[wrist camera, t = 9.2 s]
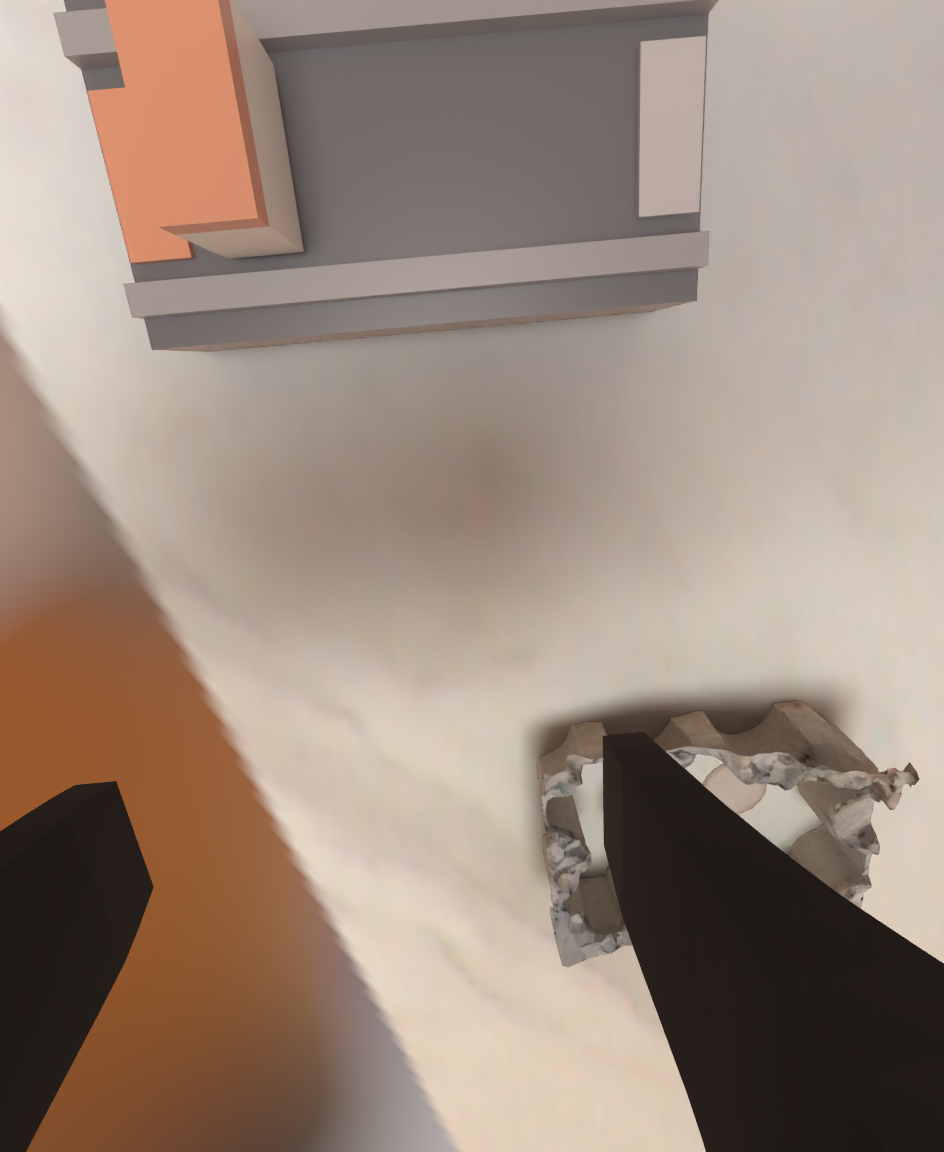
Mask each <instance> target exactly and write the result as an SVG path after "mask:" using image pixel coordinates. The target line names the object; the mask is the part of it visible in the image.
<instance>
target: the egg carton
mask: <svg viewBox="0 0 944 1152" xmlns="http://www.w3.org/2000/svg"><path fill="white" fill-rule="evenodd" d="M606 735H608V734H607V733H606V732H605V730H604V728H603V725H602V722H584V723H579V724H576V725H572V726H571V727H570V729H569V732H568V735H567V738H566V739H565V741H564V742H563V744H562V745H561V746H559V747H558V748H557V749H555V750H554V751H552V752H550V753H547V754H545V755H542V756H540V757H538V758H537V770H538V779H539V782H540V786H541V791H542V796H541V798H542V811H543V817H544V822H545V827H546V830H547V833H548V834H546V835H544V837H543V854H544V858H545V862H546V866H547V872H548V877H549V882H550V888H551V899H552V903H553V908H551V907H550V915H551V920H552V925H553V929H554V934H555V940H556V944H557V948H558V951H559V955H560V959H561V962H562V966H565V967H570V966H572V965H574V964H577V963H579V962H581V961H584V960H586V959H589V958H592V957H595V956H599V955H603V954H609V953H610V954H611V953H613V952H614V951H616V950H617V949H618V948H620V947H621V946H633V945H632V942H631V940H630V937H629V934H628V931H627V928H626V926H625V923H624V920H623V917H622V914H621V911H620V907H619V903H618V899H617V895H616V891H615V888H614V884H613V880H612V876H611V872H610V867H609V866H608V868H607V871H606V873H605V875H604V876H600V877H592V878H580V874H581V873H582V872H584V871H586V870H588V869H589V867H590V865H591V853H590V851H589V849H588V847H587V846H586V844H585V838H584V836H583V833H582V829H581V825H580V822H579V818H578V814H577V810H576V807H575V803H574V800H573V798H572V796H571V794H572V792H573V791H574V789H575V788H576V787H577V786H579V785H581V784H582V778H581V772H582V767H583V765H585V764H596V763H598V762H603V736H606ZM653 740H654V741H655V742H656V743H657V744H658V745H659V746H660V747H661V748H663V749H664V750H665V751H666V752H667V753H668V754H669V755H670V756H671V757H672V758H674V759H675V760H676V761H677V762H678V763H679V764H680V765H681V766H682V767H684V768H686V767H688V766H689V765H691V763H692V762H693V761H694V759H695V756H696V754H703V755H709V756H714V757H716V758H718V759H719V760H721V761H722V762H723V763H724V764H722V765H720V766H718V767H717V768H715V769H714V770H713V771H712V772H711V773H710V774H709V775H707V777H706V779H705V780H704V782H703V785H704V786H705V787H706V788H707V789H708V790H709V791H710V792H712V793H713V794H714V795H715V796H716V797H717V798H719V799H720V800H721V801H722V802H723V803H724V804H725V805H727V806H728V807H729V808H730V809H731V810H733V811H734V812H735V813H736V814H740V813H743V812H745V811H747V810H749V809H752V808H753V807H754V806H755V805H756V804H757V803H758V802H759V801H760V800H761V799H762V797H763V796H764V794H765V792H766V784H772V785H778V786H780V787H781V788H783V789H784V790H789V789H791V788H792V787H793V786H794V785H796V784H798V789H799V791H800V794H801V795H802V797H803V798H804V799H805V801H806V802H807V803H808V805H809V806H810V807H811V808H812V810H813V811H814V812H815V814H816V815H817V816H818V817H819V819H820V820H821V821H822V823H823V824H822V825H821V826H820V827H819V828H816V829H814V830H811V831H809V832H807V833H805V834H804V835H802V836H801V837H800V838H798V839H797V840H796V842H795V843H794V845H793V846H792V849H791V852H790V853H789V855H788V856H789V857H791V858H792V859H793V860H795V861H796V862H797V863H799V864H800V865H801V866H803V867H804V868H805V869H807V870H808V871H809V872H811V873H812V874H813V875H815V876H816V877H817V878H819V879H820V880H821V881H823V882H824V883H825V884H827V885H828V886H829V887H831V888H832V889H833V890H835V891H836V892H838V893H839V894H840V895H842V896H843V897H845V898H846V899H848V900H849V901H850V902H852V903H853V904H855V905H856V906H858V907H859V908H860V907H861V905H862V900H863V896H864V892H865V891H866V890H867V889H869V888H871V887H872V885H871V882H870V879H869V876H868V873H869V862H870V857H871V855H872V854H876V855H878V854H879V846H880V845H879V842H878V839H877V836H876V833H875V831H874V829H873V827H872V825H871V820H870V819H871V815H872V811H873V805H874V800H875V801H877V802H880V801H881V800H882V801H883V802H884V803H885V804H886V805H887V807H888V808H889V809H890V810H894V809H895V807H896V806H897V804H898V803H899V800H900V797H901V792H902V786H903V785H905V784H907V783H908V784H909V786H910V787H911V786H912V785H915V784H916V783H917V782H918V780H919V777H918V774H917V772H916V770H915V769H914V768H913V766H912V765H911V763H909V764H908V765H907V766H906V767H905V769H904V770H903V771H898V770H897V769H896V768H891V769H888V770H886V771H884V772H880V773H879V771H878V768H877V767H876V766H875V764H874V763H873V762H872V761H871V760H870V759H869V758H868V757H866V756H865V754H864V753H863V751H862V750H861V749H860V748H859V747H857V746H856V745H855V744H854V743H853V742H852V741H851V740H850V739H849V738H848V737H847V736H846V735H845V734H844V733H843V732H842V731H841V730H840V729H839V728H838V727H837V726H835V725H832V724H828V723H827V722H826V721H825V720H824V719H823V718H822V717H821V716H820V715H819V714H818V713H816V712H815V711H813V710H812V709H811V708H810V707H808V706H807V705H806V704H805V703H803V702H800V701H786V702H780V703H775V704H773V705H772V707H771V710H770V712H769V713H768V715H767V716H766V717H765V718H764V720H763V721H762V722H761V723H760V724H759V725H757V726H756V727H754V728H753V729H750V730H748V731H745V732H742V733H738V734H725V733H722V732H719V731H717V730H716V729H715V728H714V726H713V725H712V724H711V723H710V721H709V719H708V718H707V716H706V715H705V713H704V712H703V711H702V710H701V711H695V712H691V713H688V714H684V715H681V716H676V717H672V718H670V720H669V723H668V724H667V726H666V728H665V729H664V730H663V732H662V733H661V734H660V735H659V736H658V737H656V738H655V739H653Z"/></svg>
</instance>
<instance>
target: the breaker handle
mask: <svg viewBox="0 0 944 1152" xmlns="http://www.w3.org/2000/svg"><path fill="white" fill-rule="evenodd" d="M105 3H106V7H107V12H108V16H109V20H110V24H111V29H112V33H113V37H114V42H115V46H116V50H117V54H118V59H119V63H120V67H121V71H122V76H123V80H124V84H125V89H126V93H127V97H128V101H129V106H130V110H131V114H132V119H133V123H134V127H135V131H136V136H137V140H138V144H139V148H140V153H141V157H142V161H143V166H144V170H145V174H146V178H147V183H148V187H149V191H150V196H151V200H152V204H153V208H154V213H155V217H156V221H157V225H158V227H159V228H161V229H163V230H165V231H168V232H170V233H172V234H174V235H176V236H179V237H181V238H183V239H185V240H187V241H190V242H192V243H194V244H196V245H198V246H201V247H203V248H205V249H207V250H209V251H212V252H214V253H216V254H218V255H220V256H223V257H225V258H227V259H233V258H244V257H255V256H266V255H277V254H289V253H300V252H304V249H303V243H302V236H301V230H300V224H299V218H298V212H297V206H296V199H295V193H294V187H293V181H292V175H291V169H290V162H289V156H288V150H287V144H286V138H285V131H284V125H283V119H282V113H281V107H280V101H279V94H278V88H277V82H276V76H275V70H274V64H273V63H272V61H271V59H270V58H269V56H268V54H267V53H266V51H265V49H264V48H263V46H262V44H261V43H260V41H259V39H258V38H257V36H256V34H255V33H254V31H253V29H252V27H251V26H250V24H249V22H248V21H247V19H246V17H245V16H244V14H243V12H242V11H241V9H240V7H239V6H238V4H237V2H236V1H235V0H105Z"/></svg>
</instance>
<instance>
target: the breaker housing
mask: <svg viewBox="0 0 944 1152" xmlns="http://www.w3.org/2000/svg"><path fill="white" fill-rule="evenodd" d="M235 1H236V2H237V4H238V6H239V7H240V9H241V11H242V12H243V14H244V16H245V17H246V19H247V21H248V22H249V24H250V26H251V27H252V29H253V31H254V33H255V34H256V36H257V38H258V39H259V41H260V43H261V44H262V46H263V48H264V49H265V51H266V53H267V54H268V56H269V58H270V59H271V61H272V63H273V64H274V70H275V76H276V82H277V88H278V94H279V101H280V107H281V113H282V119H283V125H284V131H285V138H286V144H287V150H288V156H289V162H290V169H291V175H292V181H293V187H294V193H295V199H296V206H297V212H298V218H299V224H300V230H301V236H302V243H303V249H304V252H300V253H289V254H277V255H266V256H255V257H244V258H233V259H227V258H225V257H223V256H220V255H218V254H216V253H214V252H212V251H209V250H207V249H205V248H203V247H201V246H198V245H196V244H194V243H192V242H190V241H187V240H185V239H183V238H181V237H179V236H176V235H174V234H172V233H170V232H168V231H165V230H163V229H161V228H159V227H158V225H157V221H156V217H155V213H154V208H153V204H152V200H151V196H150V191H149V187H148V183H147V178H146V174H145V170H144V166H143V161H142V157H141V153H140V148H139V144H138V140H137V136H136V131H135V127H134V123H133V119H132V114H131V110H130V106H129V101H128V97H127V93H126V89H125V84H124V80H123V76H122V71H121V67H120V63H119V59H118V54H117V50H116V46H115V42H114V37H113V33H112V29H111V24H110V20H109V16H108V12H107V7H106V3H105V0H64V3H65V7H66V11H67V12H58V13H54V17H55V21H56V25H57V28H58V32H59V36H60V40H61V44H62V48H63V52H64V56H65V57H66V58H68V59H69V60H70V61H71V62H73V63H74V64H75V65H76V66H78V67H79V68H80V69H81V70H82V74H83V78H84V82H85V86H86V90H87V94H88V98H89V102H90V106H91V110H92V114H93V118H94V122H95V126H96V130H97V133H98V137H99V141H100V145H101V149H102V153H103V157H104V161H105V165H106V169H107V173H108V177H109V181H110V185H111V189H112V193H113V197H114V201H115V205H116V209H117V213H118V217H119V221H120V225H121V229H122V233H123V236H124V240H125V244H126V248H127V252H128V256H129V260H130V264H131V268H132V272H133V276H134V280H135V283H128V284H124V288H125V291H126V295H127V299H128V303H129V307H130V311H131V315H132V317H134V318H142V319H144V320H145V324H146V328H147V332H148V336H149V339H150V343H151V347H152V350H173V351H203V352H208V351H219V350H230V349H241V348H252V347H263V346H274V345H285V344H296V343H307V342H318V341H330V340H341V339H352V338H363V337H374V336H385V335H396V334H407V333H418V332H429V331H440V330H451V329H462V328H473V327H484V326H495V325H506V324H517V323H528V322H539V321H550V320H561V319H572V318H583V317H594V316H605V315H616V314H627V313H639V312H650V311H655V310H659V309H663V308H667V307H672V306H676V305H680V304H684V303H688V302H692V301H697V281H698V269H699V268H702V267H704V266H707V265H708V250H709V231H705V232H699V231H700V207H701V182H702V157H703V132H704V108H705V83H706V58H707V34H708V13H709V12H710V11H711V9H712V8H713V7H714V5H715V4H716V3H717V1H718V0H235Z"/></svg>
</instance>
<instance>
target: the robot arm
mask: <svg viewBox="0 0 944 1152" xmlns="http://www.w3.org/2000/svg"><path fill="white" fill-rule="evenodd" d="M603 810H604V847H605V851H606V855H607V859H608V863H609V867H610V872H611V876H612V880H613V884H614V888H615V891H616V895H617V899H618V903H619V907H620V911H621V914H622V917H623V920H624V923H625V926H626V928H627V931H628V934H629V937H630V940H631V942H632V945H633V948H634V951H635V953H636V956H637V959H638V962H639V964H640V967H641V970H642V972H643V975H644V978H645V981H646V983H647V986H648V989H649V991H650V994H651V997H652V1000H653V1002H654V1005H655V1008H656V1010H657V1013H658V1016H659V1019H660V1021H661V1024H662V1027H663V1029H664V1032H665V1035H666V1038H667V1040H668V1043H669V1046H670V1048H671V1051H672V1054H673V1057H674V1059H675V1062H676V1065H677V1067H678V1070H679V1073H680V1076H681V1078H682V1081H683V1084H684V1086H685V1089H686V1092H687V1095H688V1098H689V1101H690V1104H691V1107H692V1110H693V1113H694V1116H695V1119H696V1122H697V1125H698V1128H699V1131H700V1134H701V1137H702V1140H703V1143H704V1147H705V1150H706V1152H944V963H942V962H940V961H939V960H937V959H936V958H934V957H933V956H931V955H930V954H928V953H927V952H925V951H923V950H922V949H920V948H919V947H917V946H916V945H914V944H913V943H911V942H910V941H908V940H907V939H905V938H904V937H902V936H901V935H899V934H898V933H896V932H895V931H893V930H892V929H890V928H889V927H887V926H886V925H884V924H883V923H881V922H880V921H878V920H877V919H875V918H874V917H872V916H871V915H869V914H868V913H866V912H865V911H863V910H862V909H860V908H859V907H858V906H856V905H855V904H853V903H852V902H850V901H849V900H848V899H846V898H845V897H843V896H842V895H840V894H839V893H838V892H836V891H835V890H833V889H832V888H831V887H829V886H828V885H827V884H825V883H824V882H823V881H821V880H820V879H819V878H817V877H816V876H815V875H813V874H812V873H811V872H809V871H808V870H807V869H805V868H804V867H803V866H801V865H800V864H799V863H797V862H796V861H795V860H793V859H792V858H791V857H789V856H788V855H787V854H785V853H784V852H783V851H781V850H780V849H779V848H778V847H776V846H775V845H774V844H773V843H771V842H770V841H769V840H768V839H766V838H765V837H764V836H763V835H762V834H760V833H759V832H758V831H757V830H756V829H754V828H753V827H752V826H751V825H750V824H748V823H747V822H746V821H745V820H743V819H742V818H741V817H740V816H739V815H737V814H736V813H735V812H734V811H733V810H731V809H730V808H729V807H728V806H727V805H725V804H724V803H723V802H722V801H721V800H720V799H719V798H717V797H716V796H715V795H714V794H713V793H712V792H710V791H709V790H708V789H707V788H706V787H705V786H704V785H703V784H701V783H700V782H699V781H698V780H697V779H696V778H695V777H694V776H692V775H691V774H690V773H689V772H688V771H687V770H686V769H685V768H684V767H682V766H681V765H680V764H679V763H678V762H677V761H676V760H675V759H674V758H672V757H671V756H670V755H669V754H668V753H667V752H666V751H665V750H664V749H663V748H661V747H660V746H659V745H658V744H657V743H656V742H655V741H654V740H652V739H651V738H650V737H649V736H648V735H647V734H646V733H644V732H638V733H628V734H617V735H606V736H603ZM152 890H153V884H152V881H151V878H150V876H149V873H148V870H147V867H146V864H145V861H144V859H143V856H142V853H141V850H140V847H139V845H138V842H137V839H136V837H135V834H134V831H133V828H132V825H131V822H130V819H129V816H128V813H127V811H126V808H125V805H124V802H123V799H122V797H121V794H120V791H119V788H118V785H117V782H116V781H114V782H103V783H92V784H81V785H75V786H73V787H71V788H69V789H67V790H65V791H64V792H62V793H60V794H59V795H57V796H55V797H53V798H52V799H50V800H48V801H47V802H45V803H43V804H42V805H40V806H39V807H37V808H36V809H34V810H32V811H31V812H30V813H28V814H26V815H25V816H23V817H21V818H20V819H18V820H17V821H15V822H14V823H12V824H11V825H9V826H8V827H6V828H5V829H3V830H2V831H0V1152H26V1150H27V1149H28V1147H29V1145H30V1143H31V1141H32V1139H33V1137H34V1135H35V1133H36V1131H37V1130H38V1128H39V1126H40V1124H41V1122H42V1120H43V1118H44V1116H45V1114H46V1112H47V1111H48V1109H49V1107H50V1105H51V1103H52V1101H53V1099H54V1097H55V1095H56V1094H57V1092H58V1090H59V1088H60V1086H61V1084H62V1082H63V1080H64V1078H65V1076H66V1075H67V1073H68V1071H69V1069H70V1067H71V1065H72V1063H73V1061H74V1059H75V1058H76V1056H77V1054H78V1052H79V1050H80V1048H81V1046H82V1044H83V1042H84V1040H85V1039H86V1037H87V1035H88V1033H89V1031H90V1029H91V1027H92V1025H93V1023H94V1021H95V1019H96V1018H97V1016H98V1014H99V1012H100V1010H101V1007H102V1006H103V1004H104V1002H105V1000H106V998H107V996H108V994H109V992H110V990H111V989H112V986H113V985H114V983H115V981H116V979H117V977H118V975H119V973H120V970H121V969H122V967H123V965H124V963H125V961H126V958H127V956H128V953H129V951H130V948H131V946H132V943H133V941H134V938H135V936H136V933H137V931H138V928H139V926H140V923H141V920H142V917H143V914H144V912H145V909H146V906H147V904H148V901H149V898H150V895H151V893H152Z"/></svg>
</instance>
